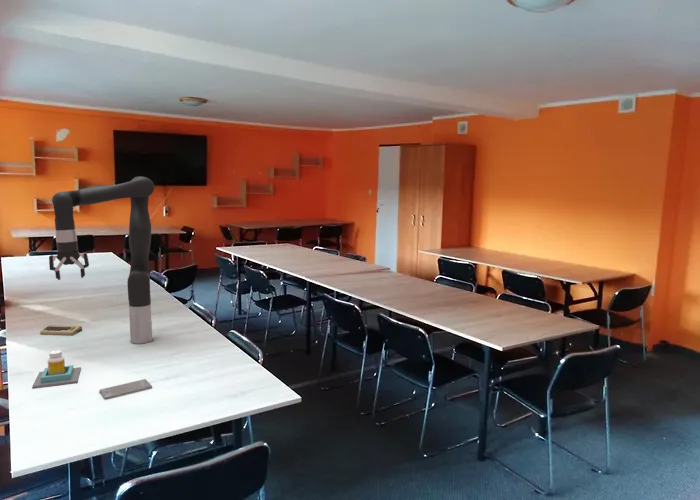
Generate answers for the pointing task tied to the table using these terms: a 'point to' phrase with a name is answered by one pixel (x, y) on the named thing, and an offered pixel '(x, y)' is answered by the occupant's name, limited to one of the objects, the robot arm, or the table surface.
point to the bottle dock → (57, 377)
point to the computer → (61, 330)
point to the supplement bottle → (56, 363)
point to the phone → (125, 389)
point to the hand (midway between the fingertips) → (71, 278)
